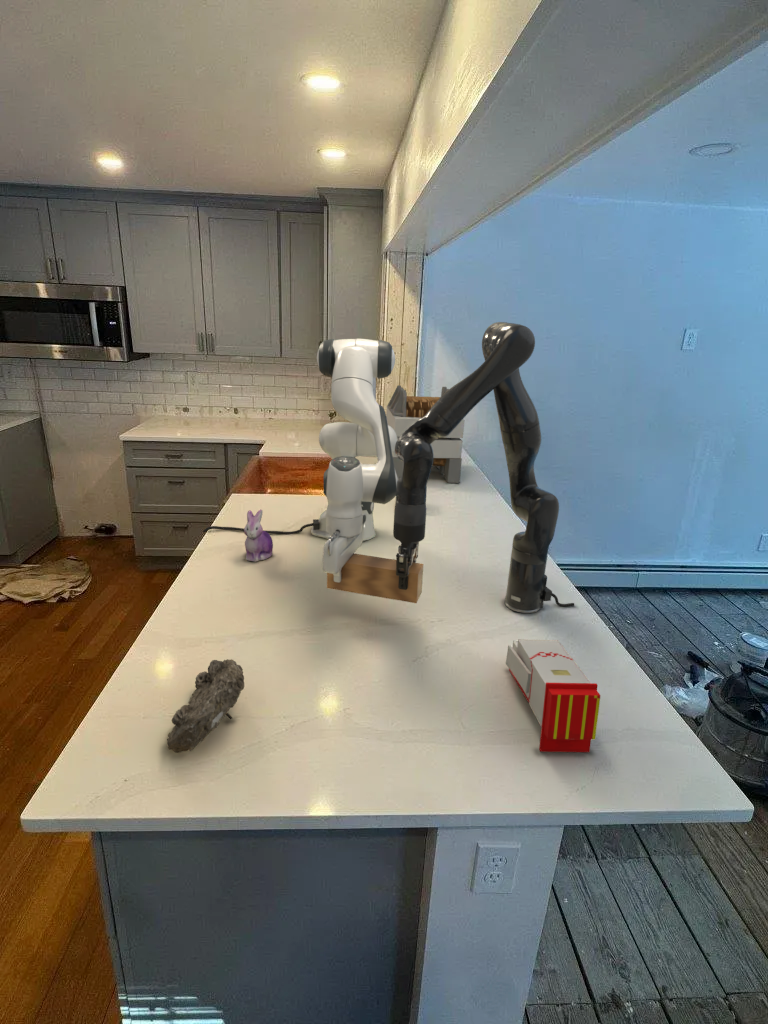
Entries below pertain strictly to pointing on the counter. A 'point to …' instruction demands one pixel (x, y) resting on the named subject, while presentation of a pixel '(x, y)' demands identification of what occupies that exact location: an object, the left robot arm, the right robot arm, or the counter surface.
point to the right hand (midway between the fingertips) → (406, 582)
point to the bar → (377, 578)
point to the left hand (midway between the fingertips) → (343, 574)
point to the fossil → (206, 705)
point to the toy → (556, 694)
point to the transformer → (445, 449)
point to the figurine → (257, 538)
